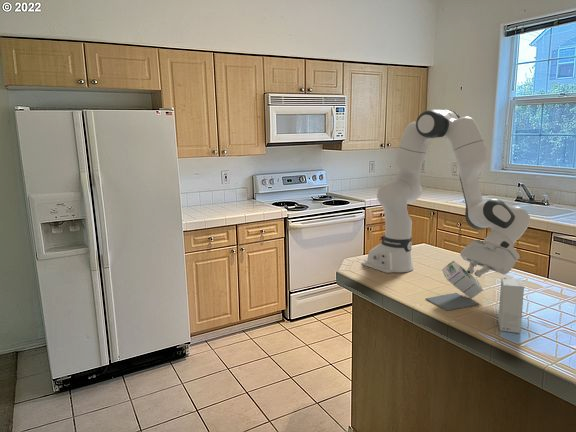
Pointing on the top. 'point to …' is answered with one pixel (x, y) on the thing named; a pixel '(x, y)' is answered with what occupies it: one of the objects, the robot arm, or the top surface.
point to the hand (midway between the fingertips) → (472, 274)
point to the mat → (452, 301)
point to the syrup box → (462, 279)
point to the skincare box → (511, 305)
